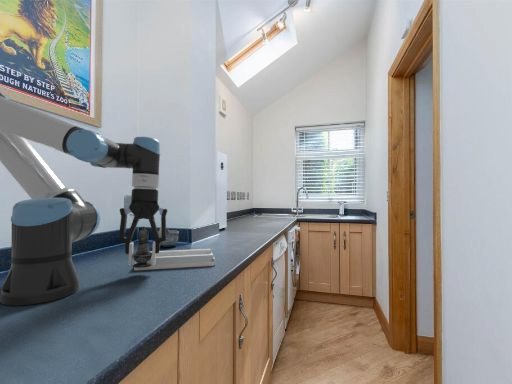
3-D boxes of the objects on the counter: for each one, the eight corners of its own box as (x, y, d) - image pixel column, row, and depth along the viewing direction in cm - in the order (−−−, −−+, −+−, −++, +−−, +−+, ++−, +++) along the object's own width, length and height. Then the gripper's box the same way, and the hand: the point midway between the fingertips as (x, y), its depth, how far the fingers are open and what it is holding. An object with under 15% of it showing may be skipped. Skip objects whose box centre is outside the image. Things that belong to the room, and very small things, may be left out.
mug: (180, 244, 134) (181, 224, 134) (175, 249, 122) (175, 227, 122) (160, 244, 134) (161, 224, 134) (152, 249, 121) (153, 227, 121)
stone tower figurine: (141, 262, 87) (143, 224, 87) (156, 264, 85) (158, 226, 85) (127, 266, 81) (128, 226, 81) (143, 269, 79) (144, 227, 79)
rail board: (134, 270, 88) (134, 259, 88) (140, 261, 99) (140, 251, 100) (215, 265, 94) (215, 255, 94) (211, 257, 106) (211, 248, 106)
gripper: (108, 186, 77) (104, 268, 77) (176, 189, 82) (173, 266, 82) (114, 187, 85) (111, 262, 84) (177, 189, 89) (174, 260, 89)
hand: (142, 264), depth 83 cm, fingers closed on stone tower figurine, 6 cm apart
